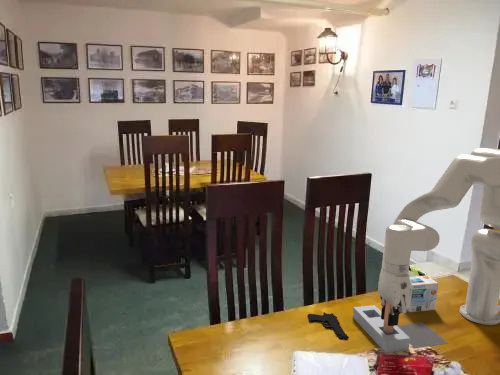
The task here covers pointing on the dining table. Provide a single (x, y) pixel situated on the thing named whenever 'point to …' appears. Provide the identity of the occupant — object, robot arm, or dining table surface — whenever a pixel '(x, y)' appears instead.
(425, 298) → the light bulb box
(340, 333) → the handgun
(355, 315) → the socket block
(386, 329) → the dowel
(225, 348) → the dining table surface
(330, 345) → the dining table surface
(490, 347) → the dining table surface
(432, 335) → the mat
